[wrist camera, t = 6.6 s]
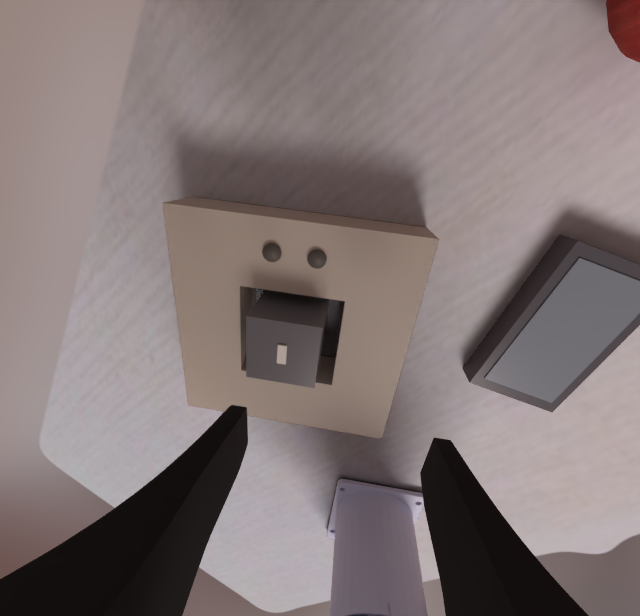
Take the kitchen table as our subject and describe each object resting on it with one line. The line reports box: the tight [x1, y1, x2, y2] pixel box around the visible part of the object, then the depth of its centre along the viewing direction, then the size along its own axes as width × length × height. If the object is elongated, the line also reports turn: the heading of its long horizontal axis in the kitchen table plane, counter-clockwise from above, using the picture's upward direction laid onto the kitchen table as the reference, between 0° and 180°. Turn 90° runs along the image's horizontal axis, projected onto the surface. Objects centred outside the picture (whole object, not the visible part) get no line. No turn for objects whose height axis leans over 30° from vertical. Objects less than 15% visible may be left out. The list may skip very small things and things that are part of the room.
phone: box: [463, 235, 640, 412], centre depth 18 cm, size 10×6×2 cm, turn 161°
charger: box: [246, 290, 330, 388], centre depth 18 cm, size 4×4×5 cm
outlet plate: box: [163, 197, 439, 439], centre depth 19 cm, size 14×14×3 cm
